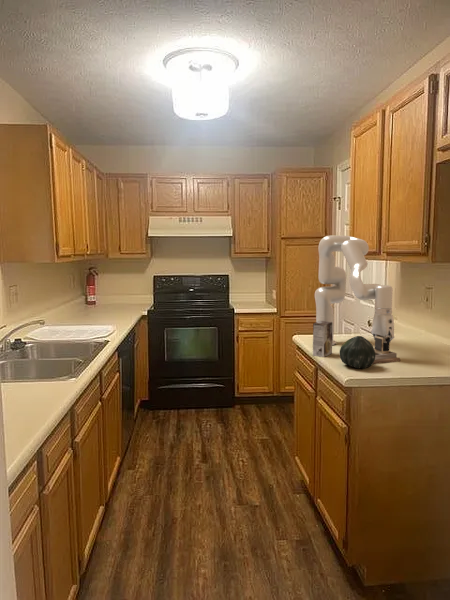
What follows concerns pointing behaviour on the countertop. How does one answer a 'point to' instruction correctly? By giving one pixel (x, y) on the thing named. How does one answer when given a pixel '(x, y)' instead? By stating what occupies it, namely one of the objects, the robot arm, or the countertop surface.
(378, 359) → the rail board
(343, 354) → the squash
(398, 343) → the countertop surface
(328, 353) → the coffee box
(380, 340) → the wooden block
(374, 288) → the robot arm
